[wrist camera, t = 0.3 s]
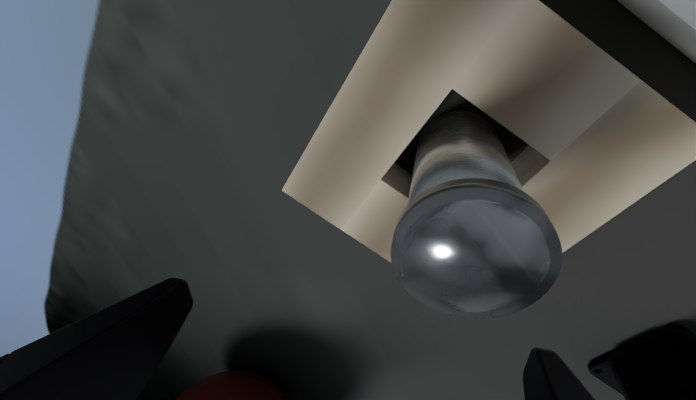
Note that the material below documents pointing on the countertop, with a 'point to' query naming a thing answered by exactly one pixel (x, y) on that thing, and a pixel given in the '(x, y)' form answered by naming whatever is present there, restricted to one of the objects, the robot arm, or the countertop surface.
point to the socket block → (499, 103)
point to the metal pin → (471, 226)
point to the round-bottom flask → (233, 387)
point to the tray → (669, 21)
